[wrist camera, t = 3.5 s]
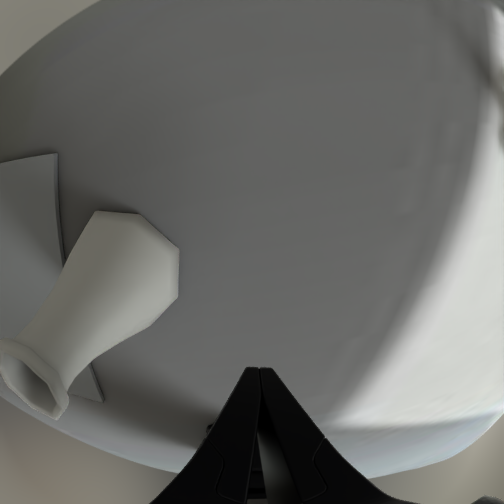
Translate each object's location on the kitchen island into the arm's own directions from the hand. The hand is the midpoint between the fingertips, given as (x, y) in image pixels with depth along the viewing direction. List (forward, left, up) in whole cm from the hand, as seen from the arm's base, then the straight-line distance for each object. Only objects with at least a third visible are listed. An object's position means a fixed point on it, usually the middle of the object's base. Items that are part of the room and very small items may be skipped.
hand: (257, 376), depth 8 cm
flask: (0, +8, -8) cm, 11 cm away
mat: (-3, +19, -8) cm, 20 cm away
